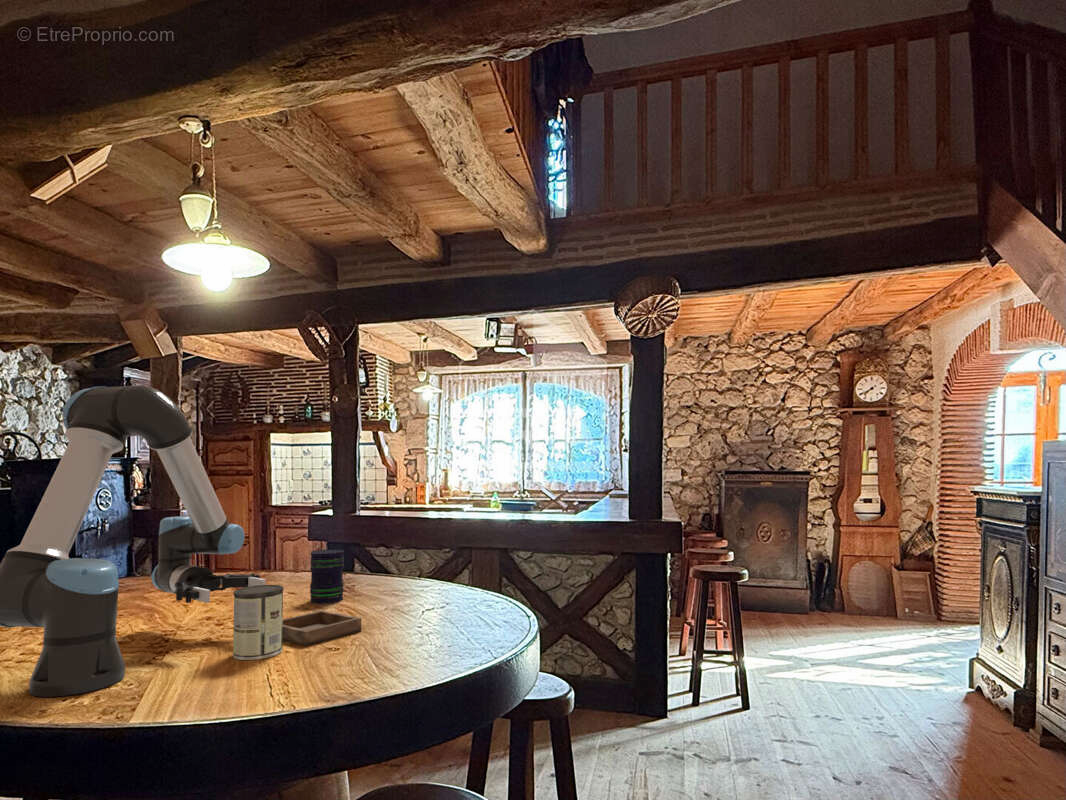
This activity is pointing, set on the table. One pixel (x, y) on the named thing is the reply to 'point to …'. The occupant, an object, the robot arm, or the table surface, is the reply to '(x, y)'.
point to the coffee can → (257, 622)
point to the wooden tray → (318, 627)
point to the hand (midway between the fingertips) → (237, 590)
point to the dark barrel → (326, 576)
